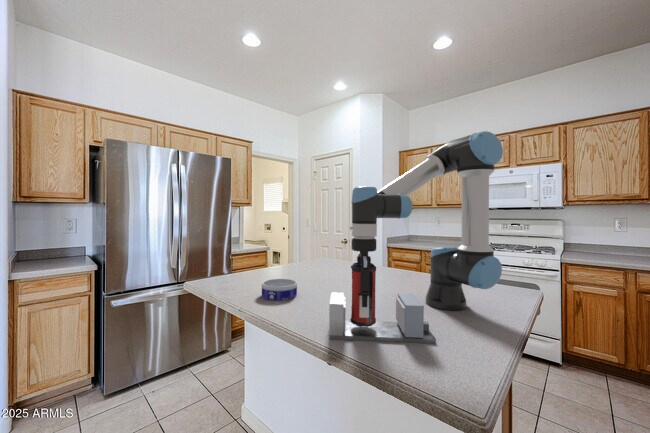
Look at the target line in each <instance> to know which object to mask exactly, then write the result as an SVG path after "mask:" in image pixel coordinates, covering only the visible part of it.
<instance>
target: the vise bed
mask: <svg viewBox="0 0 650 433" xmlns="http://www.w3.org/2000/svg"><path fill="white" fill-rule="evenodd" d="M328 337H329V338H328V340H337V341H365V342H366V341H367V342H384V343H385V342H389V343H391V342H392V343H410V344H411V343H413V344H437V338H436V337H435V336H434V335H433V333H432V331H431V330H430V329H429V331H423V338H416V337H405V336H404V333H403V332H402V330H401V328H400V326H399V324H398V322H397V321H382V320H381V321H380V320H378V321H377V320H376V323H375V324H374V325H371V326H369V327H366V326H361V327H360V326H356V325H355V324H353V323H352V322H351V321H350V320H349V319H345V332H344V331H343V336H339V335H328Z"/></svg>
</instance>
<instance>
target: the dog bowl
mask: <svg viewBox="0 0 650 433" xmlns="http://www.w3.org/2000/svg"><path fill="white" fill-rule="evenodd" d="M297 295H298V281H296V280H295V279H291V278H271V279H266V280H262V281H261V298H262V299H263V300H266V301H270V300H271V301H273V302H281V301H283V302H284V301H289V300H293V299H295V298H297Z"/></svg>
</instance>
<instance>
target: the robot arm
mask: <svg viewBox="0 0 650 433" xmlns="http://www.w3.org/2000/svg"><path fill="white" fill-rule="evenodd" d="M503 151H504V150H503V145H502V142H501V140H500V139H499V138H498V137H497V135H496V134H494V133H493V132H491V131H488V130H487V131H480V132H474V133H472V134H470V135H466V136H464V137H463V136H462V137H460V138H456V139H452V140H451V141H448V142H447V143H445V144H443V145H441V146H440V147H439V148H437V149H436V150H434V151H433V152H431V153H430V154H427V156H426V157H424V161H422V162H420V163H419V164H417V165H415V167H413V168H411V169H410V170H409V171H407V172H405V173H404V174H402V175H401V176H399V177H397V178H396V179H394V180H393V181H391V182H390V183H388V184H387V185H385V186H384V187H382V188H381V189H379V190H378V189H377V188H376V187H375V186H366V185H365V186H357V187H354V188H353V189H352V193H351V194H352V195H351V225H352V226H349V230H351V236H352V239H351V250H352V251H354V252H359V253H358V255H356V261H357V262H358V265H360V266H361V275H360V293H358V296H360V311H359V317H361V318H369V295H370V263H372V258H371V256H370V255H369V253H370V252H371V253H372V252H376V251H377V239H376V237H377V234H378V230H377V229H378V228H377V227H378V224H377V223H378V222H377V221H378V220H377V219H406V218H408V217H410V215H411V214H412V213H413V200H412V199H411V197H410V195H411V194H413V193H414V192H415V191H417V190H418V189H420V188H422V187H423V186H424V185H426V184H427V183H429V182H430V181H432V180H434V179H435V178H441V177H443V176H444V175H446V174H448V173H452V172H457V175H459V176H460V177H461V178H460V179H461V244H460V245H458V246H456V247H455V246H451V247H433V248H431V251H430V257H429V258H430V284H429V286H428V289H427V292H426V294H425V304H426V305H428V306H430V307H432V308H436V309H438V310H439V309H440V310H447V311H462V310H465V309H467V298H466V296H465V293H464V289H463V285H466V286H469V287H471V288H474V289H479V290H480V289H481V290H489V289H491V288H493V287H494V286H496V284H497V283H498V282H499V280H500V278H501V276H502V273H503V266H502V263H501V262H500V260H499V258H497V257H495V255H494V253H495V252H494V248H492V247H491V245H490V244H489V243H490V242H489V241H490V239H489V238H490V237H489V236H490V227H489V226H490V224H489V223H490V176H491V175H492V174H493V173H494V172H495V165H496V164H498V163H499V162H500V161H501V159H502V158H503V155H504V153H503ZM357 262H356V263H357Z"/></svg>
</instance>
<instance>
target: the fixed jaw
mask: <svg viewBox="0 0 650 433" xmlns="http://www.w3.org/2000/svg"><path fill="white" fill-rule="evenodd" d="M346 304H347V303H346V296H345V295H344V292H335V291H334V292H331V293H330V299H329V307H328V308H329V312H328V314H329V315H328V316H329V322H328V323H329V324H328V326H329V329H328V334H329V335H339V336H343V331H344V332H345V320H346V310H347V309H346ZM329 335H328V336H329Z"/></svg>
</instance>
